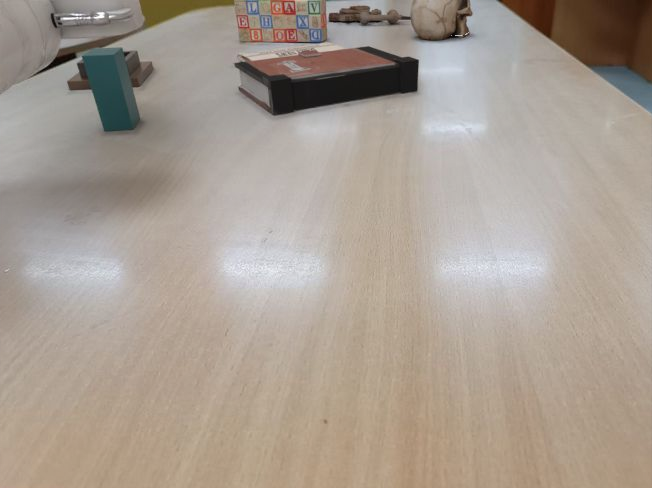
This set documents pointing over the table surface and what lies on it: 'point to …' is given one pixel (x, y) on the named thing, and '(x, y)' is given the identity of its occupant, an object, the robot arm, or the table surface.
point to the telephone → (366, 15)
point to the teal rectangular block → (111, 88)
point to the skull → (440, 18)
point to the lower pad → (135, 67)
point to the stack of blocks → (281, 20)
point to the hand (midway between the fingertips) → (54, 4)
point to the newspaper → (286, 51)
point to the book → (326, 78)
